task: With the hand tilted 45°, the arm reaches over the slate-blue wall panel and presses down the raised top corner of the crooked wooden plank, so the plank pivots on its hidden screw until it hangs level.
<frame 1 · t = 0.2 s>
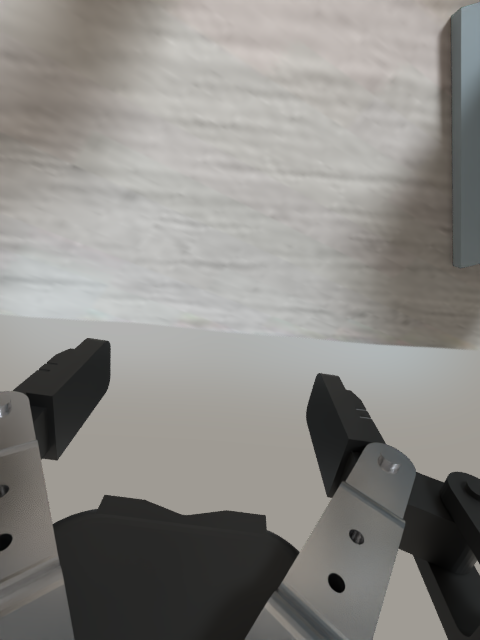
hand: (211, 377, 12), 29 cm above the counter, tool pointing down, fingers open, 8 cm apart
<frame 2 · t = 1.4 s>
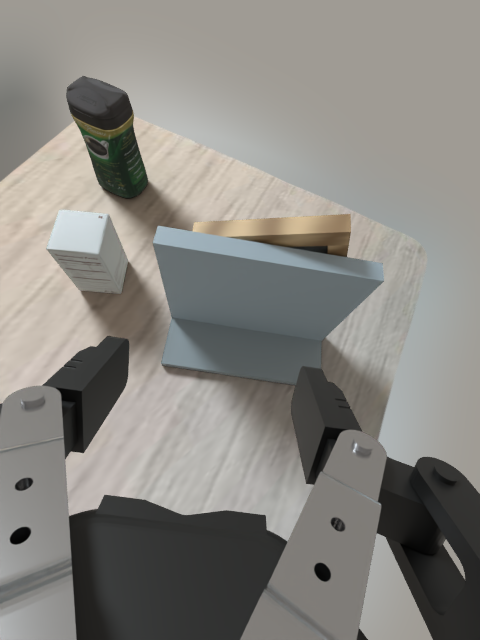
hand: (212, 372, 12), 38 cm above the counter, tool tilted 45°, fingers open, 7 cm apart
supplement box: (105, 276, 56), on the counter
coffee jar: (124, 184, 65), on the counter
wall panel: (247, 326, 55), on the counter
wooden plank: (274, 264, 42), point 16 cm above the counter, hinge at 18.0°
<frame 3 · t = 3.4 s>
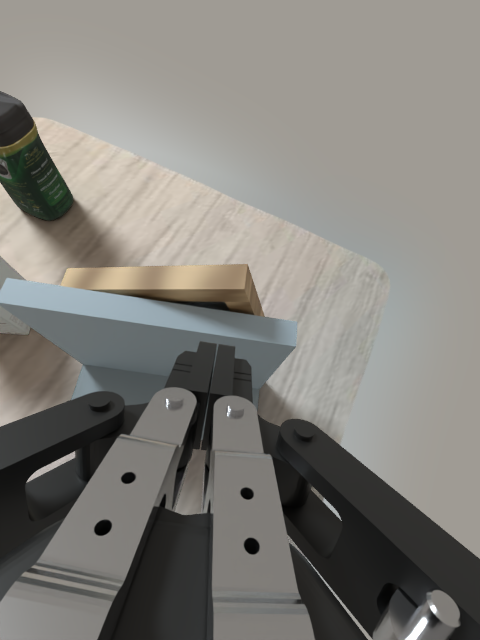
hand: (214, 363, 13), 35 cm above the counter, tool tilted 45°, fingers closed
supplement box: (12, 313, 49), on the counter
coffee jar: (47, 203, 57), on the counter
wall panel: (174, 371, 47), on the counter
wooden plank: (179, 314, 34), point 16 cm above the counter, hinge at 18.0°
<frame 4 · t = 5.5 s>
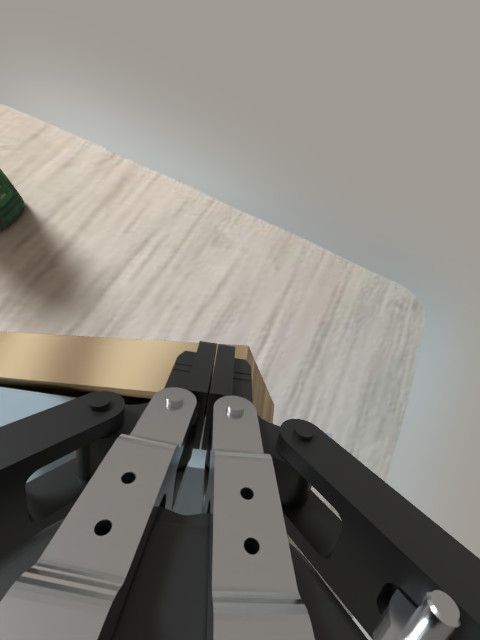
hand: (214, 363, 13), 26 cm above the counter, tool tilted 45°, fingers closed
wall panel: (146, 440, 35), on the counter
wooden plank: (137, 391, 22), point 16 cm above the counter, hinge at 16.6°, touching gripper
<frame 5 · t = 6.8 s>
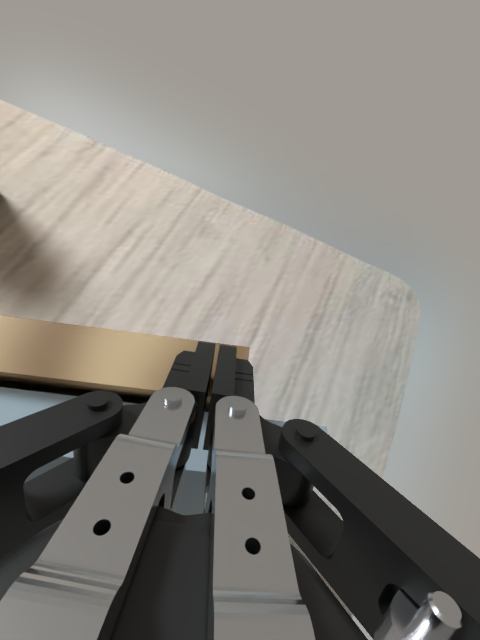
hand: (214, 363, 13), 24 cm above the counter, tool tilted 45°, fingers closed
wall panel: (130, 440, 33), on the counter
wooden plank: (96, 384, 20), point 16 cm above the counter, hinge at 2.0°, touching gripper
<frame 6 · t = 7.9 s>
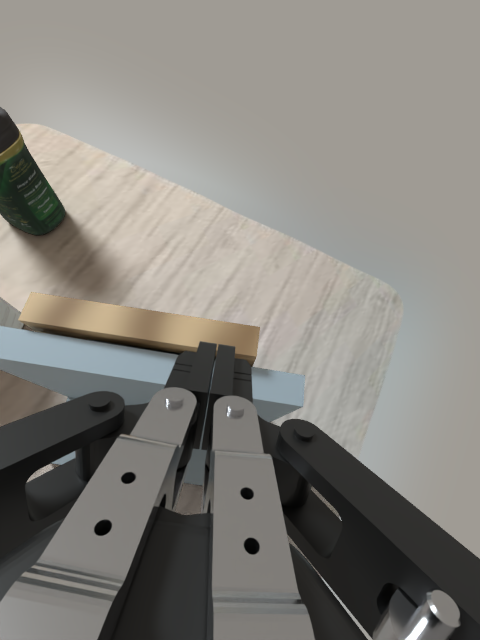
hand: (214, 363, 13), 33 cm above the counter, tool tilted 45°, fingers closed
coffee jar: (37, 216, 54), on the counter
wall panel: (168, 404, 44), on the counter
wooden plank: (158, 352, 31), point 16 cm above the counter, hinge at 2.0°
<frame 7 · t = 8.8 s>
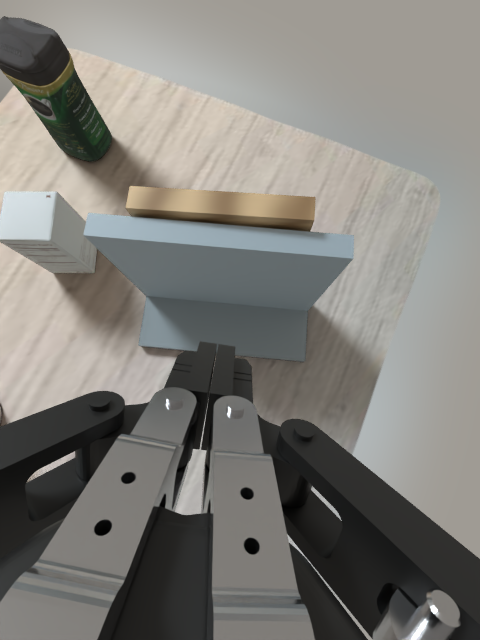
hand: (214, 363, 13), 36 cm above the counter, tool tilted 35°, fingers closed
supplement box: (76, 254, 53), on the counter
coffee jar: (87, 143, 58), on the counter
wall panel: (227, 298, 51), on the counter
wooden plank: (226, 239, 37), point 16 cm above the counter, hinge at 2.0°
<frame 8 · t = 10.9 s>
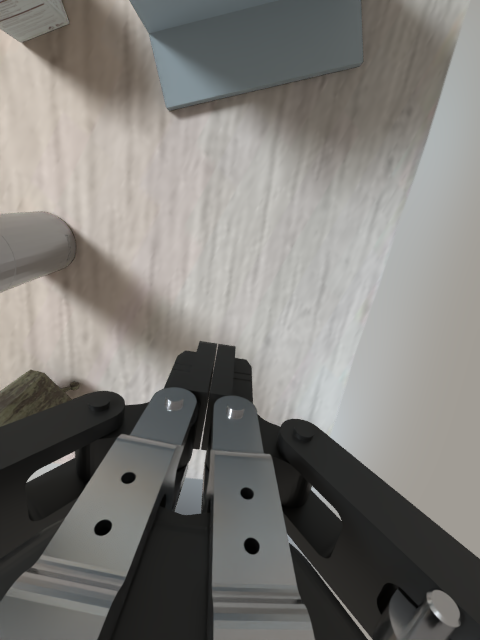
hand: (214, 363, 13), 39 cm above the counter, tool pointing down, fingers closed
supplement box: (32, 1, 39), on the counter
wall panel: (249, 1, 39), on the counter
tabletop clock: (47, 385, 60), on the counter
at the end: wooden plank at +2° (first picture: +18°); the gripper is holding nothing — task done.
